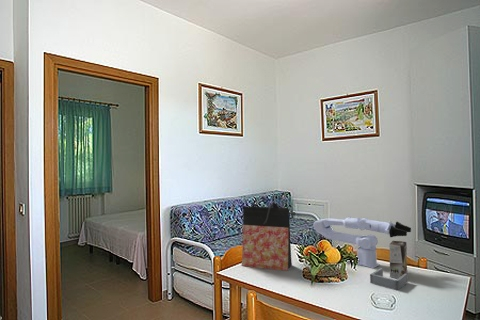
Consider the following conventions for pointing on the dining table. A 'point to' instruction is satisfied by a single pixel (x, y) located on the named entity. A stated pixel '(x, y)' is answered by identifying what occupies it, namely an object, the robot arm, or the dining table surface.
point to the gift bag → (266, 237)
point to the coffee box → (398, 259)
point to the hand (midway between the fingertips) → (408, 231)
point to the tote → (387, 280)
